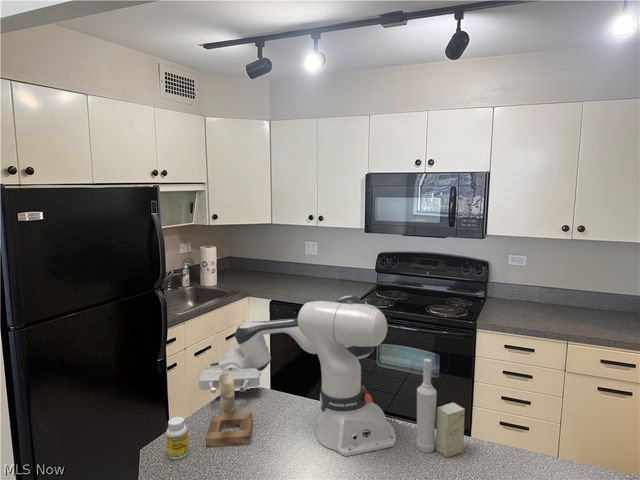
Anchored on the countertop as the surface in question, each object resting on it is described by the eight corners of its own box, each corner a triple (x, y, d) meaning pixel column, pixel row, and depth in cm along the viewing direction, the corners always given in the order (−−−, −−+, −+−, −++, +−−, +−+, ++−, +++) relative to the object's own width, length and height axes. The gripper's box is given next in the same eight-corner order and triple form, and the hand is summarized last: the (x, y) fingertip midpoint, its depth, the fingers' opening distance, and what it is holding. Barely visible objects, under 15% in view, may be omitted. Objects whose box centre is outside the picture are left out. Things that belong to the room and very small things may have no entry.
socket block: (252, 420, 129) (252, 413, 128) (249, 444, 117) (249, 435, 116) (212, 423, 127) (212, 415, 127) (205, 447, 116) (205, 438, 115)
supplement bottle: (185, 445, 117) (183, 413, 115) (191, 455, 112) (189, 421, 111) (165, 452, 114) (163, 419, 112) (170, 462, 109) (168, 428, 108)
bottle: (420, 439, 118) (422, 354, 115) (437, 445, 115) (440, 359, 112) (412, 448, 114) (414, 361, 111) (430, 455, 111) (433, 365, 108)
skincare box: (446, 458, 110) (448, 415, 108) (434, 449, 114) (435, 407, 112) (464, 451, 113) (465, 408, 111) (452, 442, 117) (453, 401, 115)
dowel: (235, 407, 136) (234, 372, 135) (234, 415, 132) (232, 378, 130) (222, 409, 136) (220, 373, 134) (220, 416, 131) (218, 379, 130)
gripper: (261, 378, 151) (260, 397, 137) (203, 381, 148) (196, 401, 135) (261, 361, 150) (259, 379, 136) (202, 364, 148) (195, 383, 134)
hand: (227, 390), depth 135 cm, fingers open, 8 cm apart
